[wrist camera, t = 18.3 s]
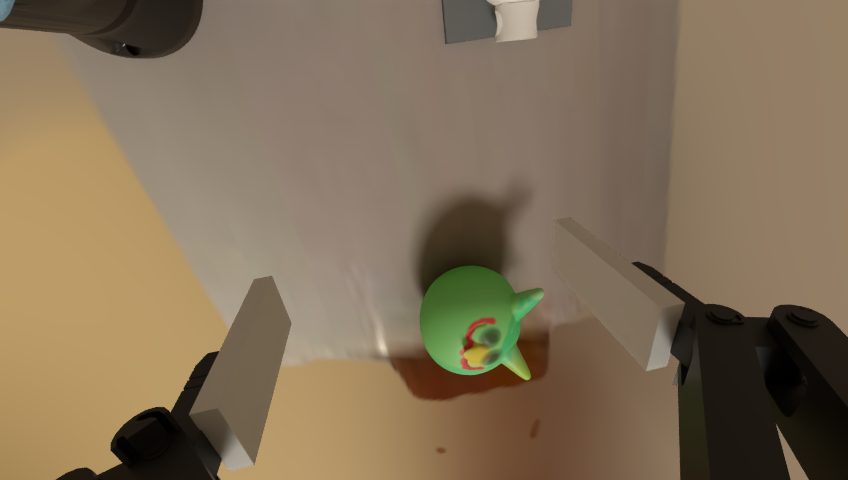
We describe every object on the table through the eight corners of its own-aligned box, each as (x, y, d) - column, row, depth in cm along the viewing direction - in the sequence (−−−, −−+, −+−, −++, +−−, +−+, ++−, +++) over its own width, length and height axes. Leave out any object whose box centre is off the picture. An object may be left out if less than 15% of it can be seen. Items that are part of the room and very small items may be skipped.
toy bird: (413, 253, 56) (429, 310, 43) (513, 245, 58) (556, 297, 45) (414, 338, 64) (428, 407, 51) (501, 328, 66) (536, 392, 54)
